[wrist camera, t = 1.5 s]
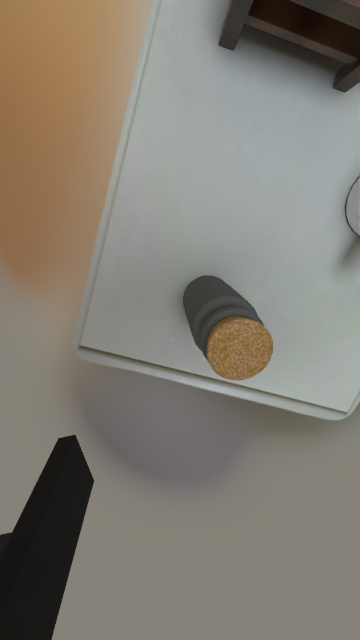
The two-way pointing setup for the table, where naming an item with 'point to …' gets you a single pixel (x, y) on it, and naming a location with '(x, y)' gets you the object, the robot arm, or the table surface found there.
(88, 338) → the table surface
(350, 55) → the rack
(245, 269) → the table surface
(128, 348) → the table surface
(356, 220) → the mug
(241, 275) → the table surface
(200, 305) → the bottle
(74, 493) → the robot arm
